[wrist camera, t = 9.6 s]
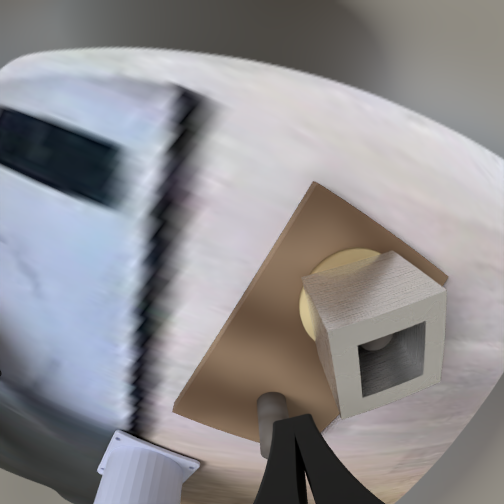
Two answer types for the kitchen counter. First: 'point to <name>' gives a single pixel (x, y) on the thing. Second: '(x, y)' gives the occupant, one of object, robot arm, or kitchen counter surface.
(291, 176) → the kitchen counter surface
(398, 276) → the collar
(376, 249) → the board
